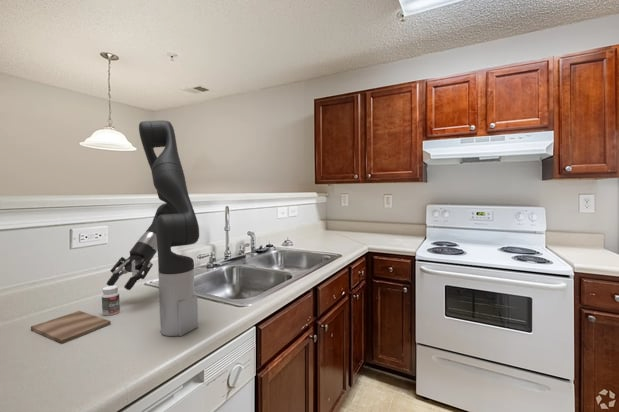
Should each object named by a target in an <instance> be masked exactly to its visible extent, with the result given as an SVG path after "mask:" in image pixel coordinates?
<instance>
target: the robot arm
mask: <svg viewBox="0 0 619 412" xmlns="http://www.w3.org/2000/svg"><path fill="white" fill-rule="evenodd" d="M138 131H139V132H138V133H139V137H140V141H141V144H142V147H143V150H144V153H145V156H146V157H145V158H146V159H147V162H148V165H149V168H150V170H151V176H152V182H153V186H154V189H155V190H156V193H157V197H158V199H159V200H160V201H161V202H164V203H161V205H159V206H158V207H157V208H156V211H155V213H154V216H153V219H152V222H151V224H150V225H149V226H148V228H147V229H146V231H145V232H144V233H143V234H142V235H141V236H140V237H139V238H138V240H137V241H136V243H135V244H134V245H133V246H132V247H131V248H130V250H129V256H128V257H127V258H125V257H123V256H121V257H119V259H118V261H117V262H116V263H115V264H114V265H113V267H112V268H111V269H110V273H112V275H111V276H110V278H109V279H108V280H107V282H106V286H115V284H116V283H117V281H118V280H119V279H120V277H121V276H123V275H124V274H128V273H132V274H131V276H130V278H129V279H128V280H127V282H126V283H125V284H124V288H123V289H126V290H127V291H130V290H131V289H132V288H133V287H134V286H135V284H136V283H137V282H138V281H140V279H141V280H145V278H146V277H147V275H148V274H149V272H150V270H151V268H152V267H153V265H154V264H153V263H152V262H151V261H152V259H153V258H154V256H155V255H156V253H157V263H158V266H157V267H158V269H157V270H158V299H159V321H160V323H159V324H160V333H161V335H163V336H168V337H174V336H175V337H176V336H177V337H182V336H184V335H186V334H187V333H189V332H191V331H193V330H195V329H196V328H198V327H199V319H198V315H199V314H198V313H199V312H198V308H199V307H198V295H196V293H195V262H194V259H193V257H190V256H188V255H187V256H186V255H182V254H179V253H175V252H173V251H172V248H173V247H182V246H183V247H184V246H189V245H194V244H196V243H197V242H198V241H199V239H200V227H199V222H198V219H197V215H196V213H195V209H194V208H193V205H192V201H191V199H190V196H189V191H188V186H187V182H186V177H185V173H184V170H183V166H182V162H181V159H180V157H179V151H178V145H177V139H176V134H175V129H174V126H173V125H172V123H171V122H170V121H168V120H161V119H160V120H145V121H140V122H139V124H138ZM154 148H164V149H163V150H162V152H160V154H159V155H158V156H157V154H156V153H155V149H154Z"/></svg>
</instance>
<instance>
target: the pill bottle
mask: <svg viewBox="0 0 619 412" xmlns="http://www.w3.org/2000/svg"><path fill="white" fill-rule="evenodd" d="M118 287H119V286H117V285H113V286H108V285H106V286H105V287H103V288H102V294H101V308H102V309H101V312H102V315H103V316H112V315H116V314H118V313H119V312H120V311H121V305H120V292H119V291H118V290H119V289H118Z"/></svg>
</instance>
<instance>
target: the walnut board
mask: <svg viewBox="0 0 619 412" xmlns="http://www.w3.org/2000/svg"><path fill="white" fill-rule="evenodd" d="M111 323H112V322H111V320H108V319H106V318H103V317H99V316H96V315H94V314H90V313H87V312H84V311H82V310H78V311H74V312H71V313H68V314H65V315H62V316H59V317H56V318H53V319H50V320H47V321H44V322H41V323H38V324H35V325H32V326H30V330H31V331H33V332H34V333H37V334H39V335H41V336H43V337H45V338H48V339H50V340H53V341H54V342H56V343H59V344H65V343H68V342H70V341H72V340H76V339H78V338H80V337H82V336H85V335H88V334H90V333H92V332H95V331H97V330H101V329H103V328H106V327H108V326H110V325H111Z"/></svg>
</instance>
